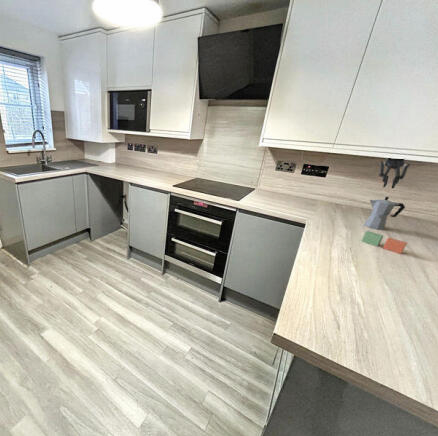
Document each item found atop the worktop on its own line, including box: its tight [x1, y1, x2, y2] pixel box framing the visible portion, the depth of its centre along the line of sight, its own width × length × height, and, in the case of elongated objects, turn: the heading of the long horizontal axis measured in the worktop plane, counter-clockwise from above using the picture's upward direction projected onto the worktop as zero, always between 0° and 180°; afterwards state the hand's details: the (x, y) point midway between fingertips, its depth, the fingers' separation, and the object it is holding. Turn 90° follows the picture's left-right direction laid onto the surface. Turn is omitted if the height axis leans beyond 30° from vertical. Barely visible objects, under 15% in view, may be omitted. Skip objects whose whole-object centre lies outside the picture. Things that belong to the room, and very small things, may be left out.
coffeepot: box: [363, 196, 406, 231], centre depth 132 cm, size 15×9×18 cm, turn 64°
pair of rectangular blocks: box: [361, 230, 408, 255], centre depth 110 cm, size 14×3×5 cm, turn 33°
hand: (389, 186), depth 137 cm, fingers open, 3 cm apart
